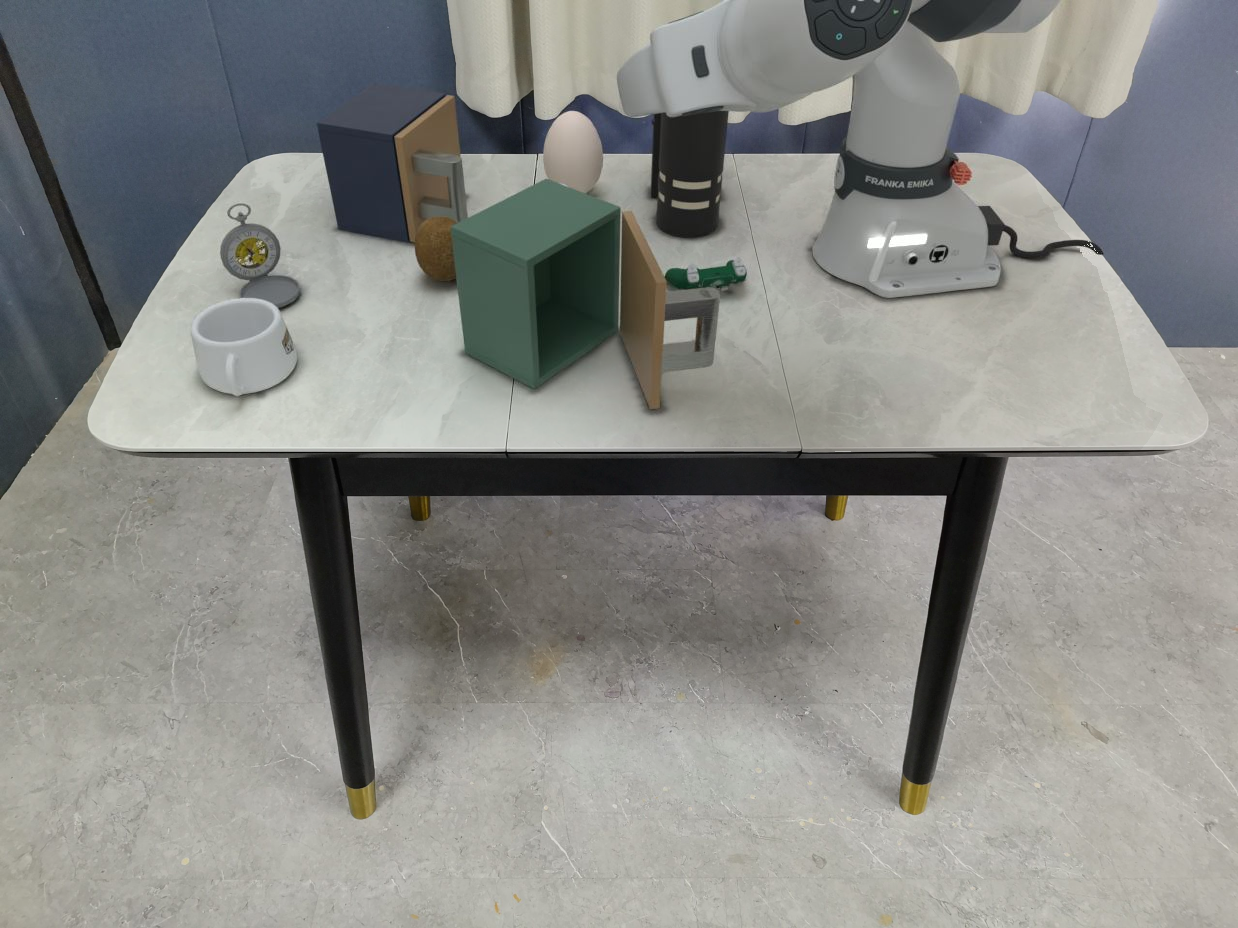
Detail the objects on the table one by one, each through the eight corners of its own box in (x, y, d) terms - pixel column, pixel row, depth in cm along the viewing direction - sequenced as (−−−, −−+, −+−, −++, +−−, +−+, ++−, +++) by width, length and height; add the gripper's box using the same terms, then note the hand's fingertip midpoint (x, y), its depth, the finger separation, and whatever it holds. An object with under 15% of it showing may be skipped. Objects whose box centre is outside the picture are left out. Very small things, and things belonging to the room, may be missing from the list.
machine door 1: (505, 203, 124) (498, 102, 115) (460, 251, 114) (448, 145, 105) (458, 195, 126) (447, 94, 117) (409, 241, 116) (394, 136, 107)
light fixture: (650, 237, 118) (656, 96, 106) (648, 188, 128) (654, 55, 116) (726, 238, 118) (741, 98, 106) (719, 190, 128) (731, 56, 116)
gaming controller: (667, 303, 110) (681, 291, 104) (661, 272, 110) (675, 258, 104) (739, 293, 112) (757, 280, 106) (734, 262, 112) (751, 248, 106)
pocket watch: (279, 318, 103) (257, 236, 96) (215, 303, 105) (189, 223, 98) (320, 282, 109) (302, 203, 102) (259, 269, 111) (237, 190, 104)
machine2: (618, 331, 102) (620, 207, 92) (534, 389, 94) (526, 260, 84) (550, 299, 107) (546, 178, 97) (464, 353, 99) (450, 226, 89)
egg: (597, 211, 123) (597, 126, 116) (539, 206, 124) (535, 121, 116) (607, 185, 129) (608, 103, 121) (551, 180, 130) (548, 98, 122)
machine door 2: (680, 325, 103) (689, 205, 93) (717, 401, 93) (731, 274, 83) (619, 332, 102) (621, 211, 92) (649, 409, 92) (656, 282, 82)
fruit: (469, 293, 108) (462, 230, 102) (415, 293, 107) (405, 230, 102) (474, 266, 112) (468, 204, 107) (423, 265, 112) (414, 204, 107)
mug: (210, 345, 99) (194, 297, 95) (303, 339, 100) (291, 291, 96) (188, 416, 90) (169, 366, 86) (290, 408, 91) (276, 358, 87)
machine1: (456, 195, 126) (445, 93, 117) (408, 242, 116) (391, 135, 107) (391, 184, 128) (375, 83, 119) (338, 229, 118) (316, 122, 109)
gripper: (884, -23, 71) (811, 21, 85) (633, 32, 68) (598, 69, 82) (896, 63, 73) (823, 93, 86) (652, 120, 70) (615, 142, 83)
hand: (712, 82), depth 84 cm, fingers open, 8 cm apart
